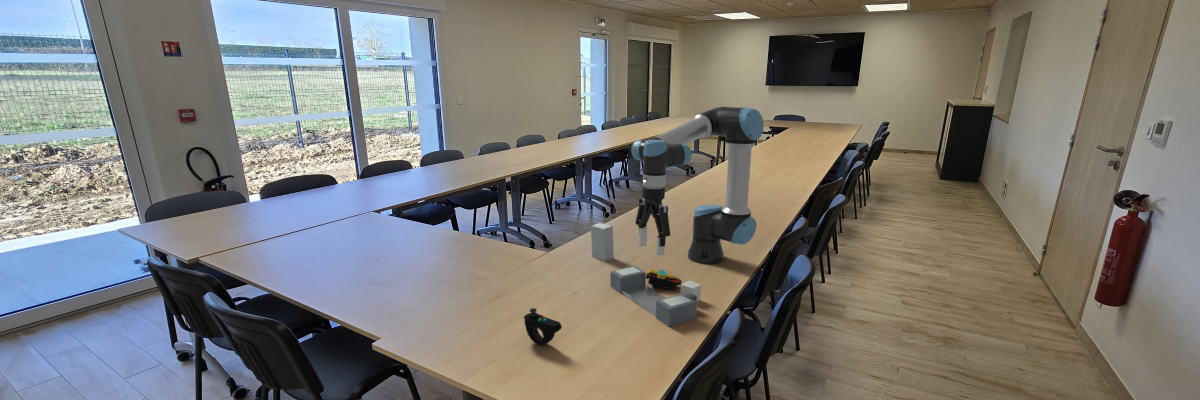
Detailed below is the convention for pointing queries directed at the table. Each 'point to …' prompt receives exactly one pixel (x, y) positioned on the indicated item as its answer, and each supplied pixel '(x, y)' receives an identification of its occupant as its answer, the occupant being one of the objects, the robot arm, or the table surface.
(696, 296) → the dark grey pebble
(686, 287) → the block
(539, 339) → the controller
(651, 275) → the gadget
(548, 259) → the table surface
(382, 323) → the table surface
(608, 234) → the skincare box
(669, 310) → the block
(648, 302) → the rail
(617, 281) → the block
